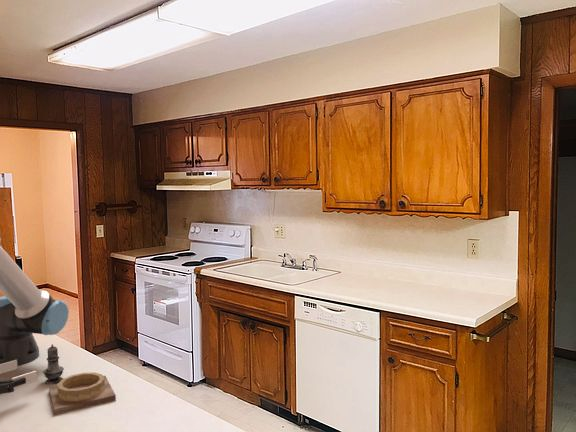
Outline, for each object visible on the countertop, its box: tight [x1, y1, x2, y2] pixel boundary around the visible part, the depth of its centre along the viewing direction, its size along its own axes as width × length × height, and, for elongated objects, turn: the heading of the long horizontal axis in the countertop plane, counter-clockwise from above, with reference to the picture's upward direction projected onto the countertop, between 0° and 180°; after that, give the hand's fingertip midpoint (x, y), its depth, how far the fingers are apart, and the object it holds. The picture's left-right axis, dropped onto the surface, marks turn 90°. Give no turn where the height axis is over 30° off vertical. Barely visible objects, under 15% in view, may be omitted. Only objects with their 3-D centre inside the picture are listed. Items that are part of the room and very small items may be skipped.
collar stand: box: [48, 372, 117, 416], centre depth 141 cm, size 16×16×4 cm
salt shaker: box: [42, 343, 65, 386], centre depth 152 cm, size 6×6×12 cm
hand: (26, 369), depth 145 cm, fingers open, 13 cm apart
